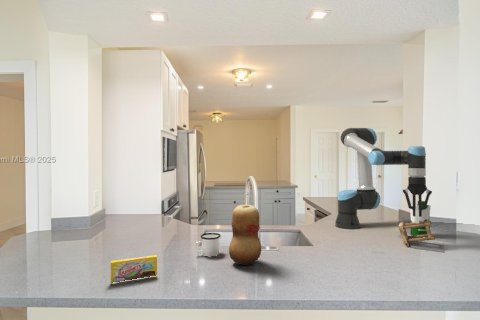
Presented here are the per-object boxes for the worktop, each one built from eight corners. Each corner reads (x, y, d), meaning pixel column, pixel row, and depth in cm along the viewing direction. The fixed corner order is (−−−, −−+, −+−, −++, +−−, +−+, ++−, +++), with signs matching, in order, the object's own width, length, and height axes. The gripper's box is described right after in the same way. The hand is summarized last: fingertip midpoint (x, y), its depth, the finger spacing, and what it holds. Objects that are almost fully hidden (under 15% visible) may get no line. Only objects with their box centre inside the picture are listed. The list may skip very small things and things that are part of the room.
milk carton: (415, 238, 156) (415, 202, 156) (407, 233, 165) (407, 199, 165) (432, 238, 155) (432, 202, 155) (423, 234, 164) (423, 199, 164)
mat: (409, 247, 140) (409, 247, 140) (411, 240, 151) (411, 240, 151) (444, 252, 132) (444, 252, 132) (443, 244, 143) (443, 244, 143)
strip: (406, 247, 140) (406, 244, 140) (408, 240, 152) (408, 238, 152) (408, 247, 140) (408, 245, 140) (410, 240, 152) (410, 238, 152)
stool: (398, 226, 145) (429, 222, 137) (400, 222, 152) (429, 219, 144) (403, 243, 143) (435, 241, 136) (404, 239, 151) (435, 236, 143)
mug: (217, 250, 139) (217, 231, 139) (223, 256, 130) (223, 236, 130) (193, 253, 135) (193, 234, 135) (197, 259, 126) (197, 239, 126)
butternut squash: (238, 272, 111) (237, 209, 111) (224, 261, 123) (223, 204, 123) (267, 266, 118) (267, 206, 117) (251, 256, 129) (251, 201, 129)
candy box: (110, 285, 101) (110, 262, 101) (110, 283, 103) (110, 260, 103) (157, 277, 108) (157, 256, 107) (156, 275, 109) (156, 254, 109)
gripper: (401, 176, 144) (401, 222, 144) (432, 177, 137) (432, 225, 137) (402, 175, 150) (403, 220, 150) (432, 176, 143) (432, 223, 143)
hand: (417, 222), depth 144 cm, fingers closed
